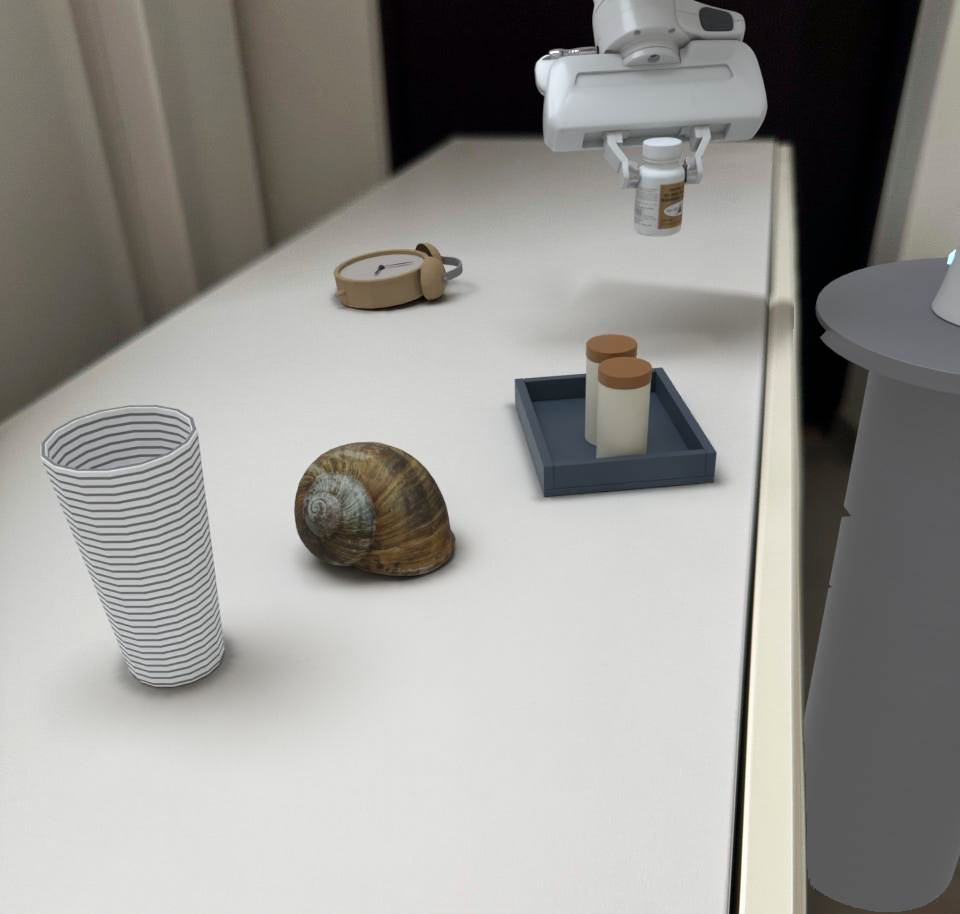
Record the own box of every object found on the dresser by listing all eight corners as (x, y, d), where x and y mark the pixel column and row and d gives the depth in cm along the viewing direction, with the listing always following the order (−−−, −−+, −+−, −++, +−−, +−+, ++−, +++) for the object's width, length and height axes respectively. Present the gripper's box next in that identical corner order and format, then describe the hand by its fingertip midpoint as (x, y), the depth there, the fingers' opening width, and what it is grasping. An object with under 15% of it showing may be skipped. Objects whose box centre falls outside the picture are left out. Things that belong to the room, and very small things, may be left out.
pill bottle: (669, 240, 96) (675, 148, 91) (625, 234, 98) (629, 144, 93) (688, 227, 99) (695, 138, 94) (645, 222, 101) (650, 134, 96)
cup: (94, 648, 68) (24, 427, 59) (219, 607, 72) (171, 392, 63) (129, 719, 62) (57, 486, 53) (264, 671, 66) (218, 443, 57)
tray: (660, 394, 97) (662, 367, 96) (713, 482, 83) (717, 452, 82) (515, 405, 97) (514, 378, 95) (543, 496, 82) (543, 466, 81)
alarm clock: (330, 258, 126) (451, 226, 125) (342, 298, 129) (461, 267, 128) (331, 288, 117) (461, 253, 116) (343, 330, 120) (471, 297, 119)
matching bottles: (627, 425, 91) (631, 332, 86) (651, 473, 84) (657, 374, 79) (580, 428, 91) (581, 336, 86) (600, 477, 83) (603, 379, 79)
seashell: (278, 575, 75) (260, 474, 70) (334, 512, 82) (320, 416, 77) (426, 598, 72) (417, 493, 67) (471, 530, 79) (466, 432, 74)
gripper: (535, 26, 93) (552, 169, 91) (761, 13, 94) (782, 154, 92) (529, 75, 100) (544, 210, 97) (741, 62, 101) (760, 195, 99)
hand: (662, 182), depth 95 cm, fingers closed on pill bottle, 4 cm apart
